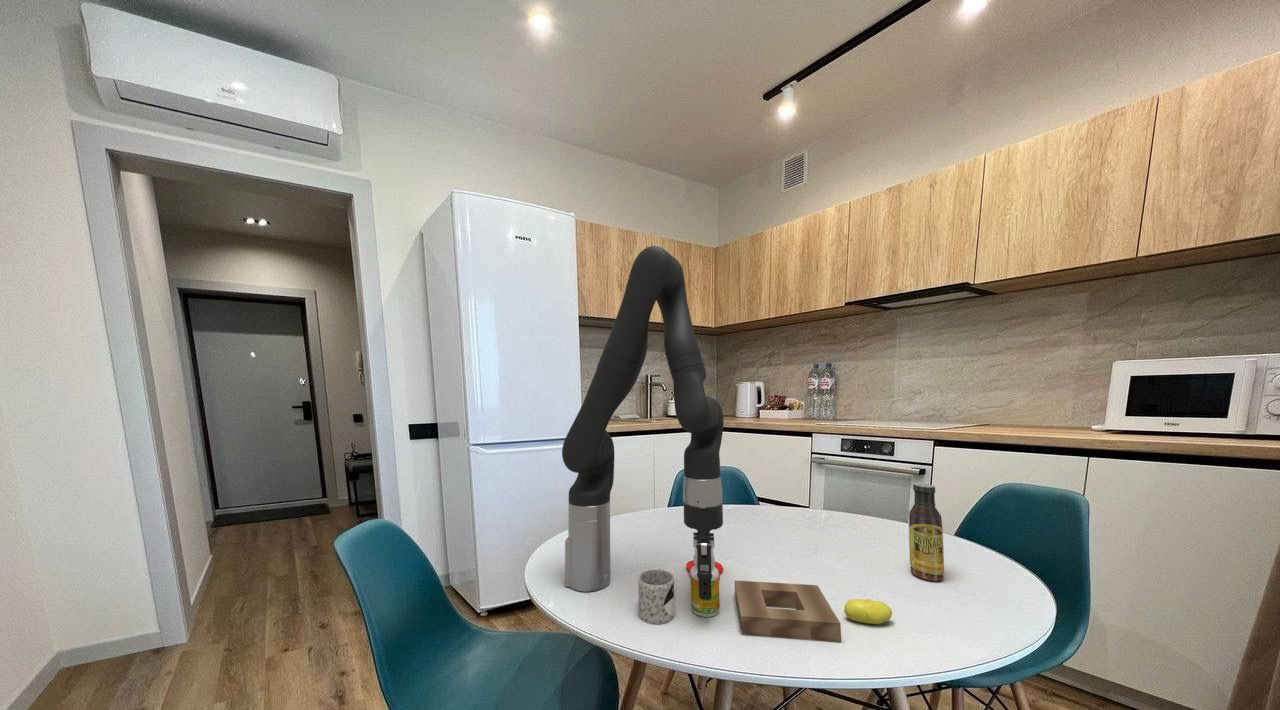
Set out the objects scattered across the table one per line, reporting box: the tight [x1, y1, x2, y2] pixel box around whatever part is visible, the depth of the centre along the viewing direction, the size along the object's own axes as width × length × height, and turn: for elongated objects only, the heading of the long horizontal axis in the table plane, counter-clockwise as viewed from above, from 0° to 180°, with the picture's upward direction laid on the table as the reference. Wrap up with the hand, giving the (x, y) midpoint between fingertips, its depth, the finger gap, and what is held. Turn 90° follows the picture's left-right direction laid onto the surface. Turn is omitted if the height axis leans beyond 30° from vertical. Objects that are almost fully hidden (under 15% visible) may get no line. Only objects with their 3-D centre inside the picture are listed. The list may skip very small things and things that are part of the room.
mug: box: [638, 568, 675, 626], centre depth 76 cm, size 10×7×7 cm
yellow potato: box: [843, 598, 893, 625], centre depth 71 cm, size 4×8×4 cm, turn 78°
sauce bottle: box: [908, 482, 945, 582], centre depth 89 cm, size 6×6×20 cm
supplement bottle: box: [689, 554, 721, 618], centre depth 76 cm, size 5×5×10 cm
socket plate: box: [734, 580, 842, 643], centre depth 73 cm, size 16×13×3 cm
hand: (704, 587), depth 76 cm, fingers open, 8 cm apart
